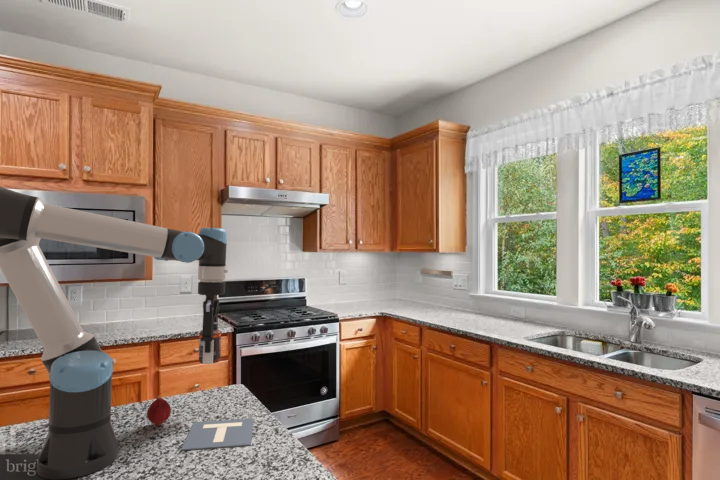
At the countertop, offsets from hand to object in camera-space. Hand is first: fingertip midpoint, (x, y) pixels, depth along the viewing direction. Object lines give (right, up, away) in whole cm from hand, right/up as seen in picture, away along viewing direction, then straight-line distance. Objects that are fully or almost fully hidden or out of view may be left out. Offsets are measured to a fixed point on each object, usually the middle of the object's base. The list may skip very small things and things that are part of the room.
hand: (209, 360), depth 123 cm
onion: (-11, -15, -9) cm, 21 cm away
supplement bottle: (0, -1, 0) cm, 1 cm away
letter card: (+8, -15, -13) cm, 22 cm away
